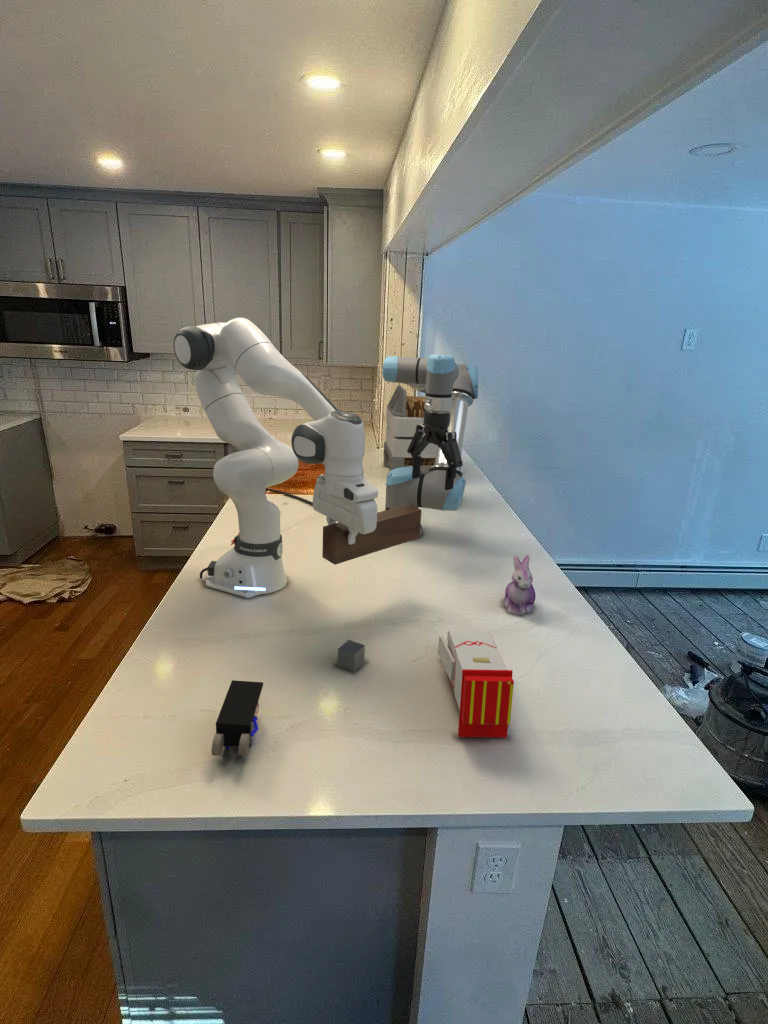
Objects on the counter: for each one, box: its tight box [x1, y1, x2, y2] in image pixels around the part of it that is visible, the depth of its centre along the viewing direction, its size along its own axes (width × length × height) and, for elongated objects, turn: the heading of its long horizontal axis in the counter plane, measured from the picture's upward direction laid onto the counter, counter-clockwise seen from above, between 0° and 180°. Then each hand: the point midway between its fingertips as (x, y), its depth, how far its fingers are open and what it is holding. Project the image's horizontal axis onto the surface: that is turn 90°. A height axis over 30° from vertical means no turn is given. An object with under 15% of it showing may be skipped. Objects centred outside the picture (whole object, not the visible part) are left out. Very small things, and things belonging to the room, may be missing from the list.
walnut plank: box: [321, 505, 422, 566], centre depth 142 cm, size 5×28×8 cm, turn 132°
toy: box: [437, 628, 515, 738], centre depth 117 cm, size 12×13×30 cm
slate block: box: [336, 639, 366, 673], centre depth 125 cm, size 4×4×4 cm
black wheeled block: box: [211, 679, 264, 761], centre depth 102 cm, size 7×8×15 cm
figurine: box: [503, 553, 537, 615], centre depth 151 cm, size 9×10×15 cm
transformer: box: [383, 384, 463, 472], centre depth 268 cm, size 34×33×41 cm
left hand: (342, 538), depth 135 cm, fingers closed on walnut plank, 5 cm apart
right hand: (432, 483), depth 167 cm, fingers open, 13 cm apart
